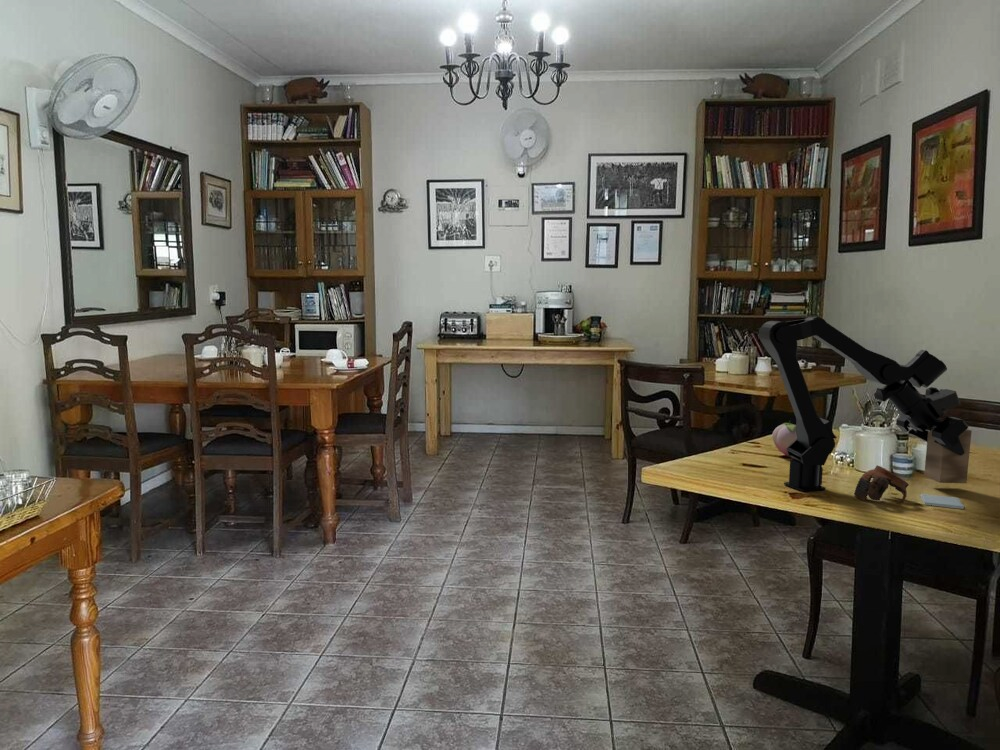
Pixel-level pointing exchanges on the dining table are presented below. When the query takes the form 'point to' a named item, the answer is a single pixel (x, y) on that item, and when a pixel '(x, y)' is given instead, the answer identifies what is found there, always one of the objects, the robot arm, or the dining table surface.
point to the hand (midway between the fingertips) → (953, 451)
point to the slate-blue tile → (941, 501)
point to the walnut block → (947, 461)
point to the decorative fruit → (784, 436)
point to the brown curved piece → (879, 484)
